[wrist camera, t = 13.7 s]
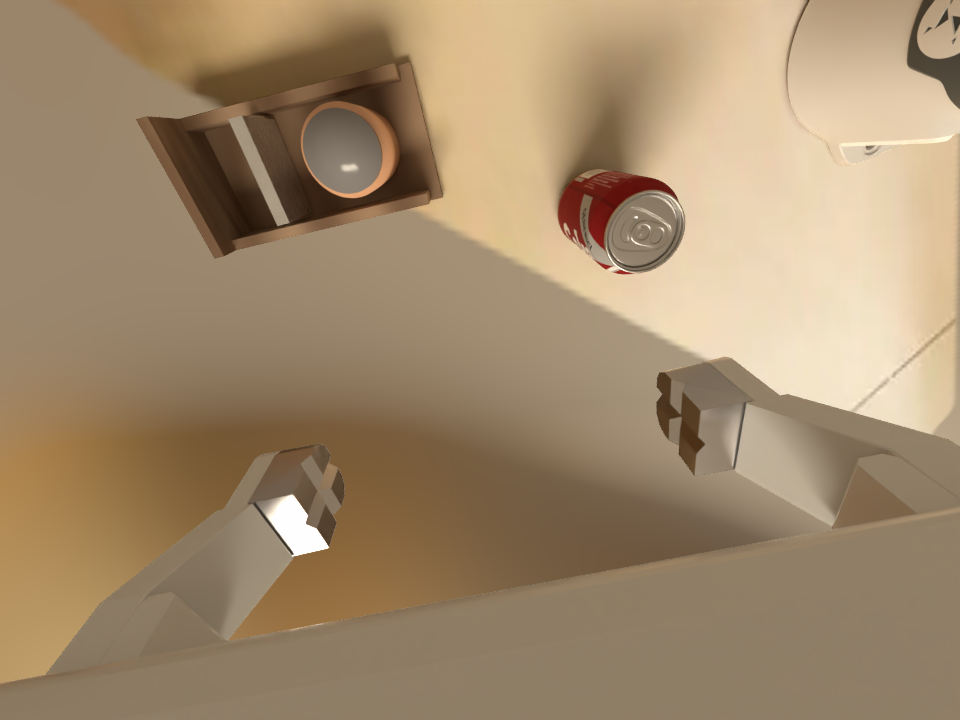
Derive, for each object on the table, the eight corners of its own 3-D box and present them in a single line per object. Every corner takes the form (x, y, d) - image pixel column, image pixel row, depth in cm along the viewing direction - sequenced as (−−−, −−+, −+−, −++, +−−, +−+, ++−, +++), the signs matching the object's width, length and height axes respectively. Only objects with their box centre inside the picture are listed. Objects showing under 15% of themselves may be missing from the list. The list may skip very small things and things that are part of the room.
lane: (410, 63, 30) (400, 45, 25) (442, 196, 35) (440, 207, 30) (192, 120, 31) (134, 115, 26) (253, 242, 36) (216, 260, 31)
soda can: (568, 160, 35) (618, 168, 24) (637, 177, 36) (713, 192, 25) (546, 236, 38) (582, 272, 27) (610, 249, 39) (667, 289, 28)
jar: (392, 102, 31) (375, 95, 25) (406, 183, 34) (394, 195, 28) (319, 110, 31) (283, 105, 25) (339, 190, 34) (312, 203, 28)
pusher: (274, 119, 31) (241, 115, 26) (312, 211, 35) (289, 223, 30) (243, 127, 31) (206, 124, 26) (284, 218, 35) (258, 230, 30)
